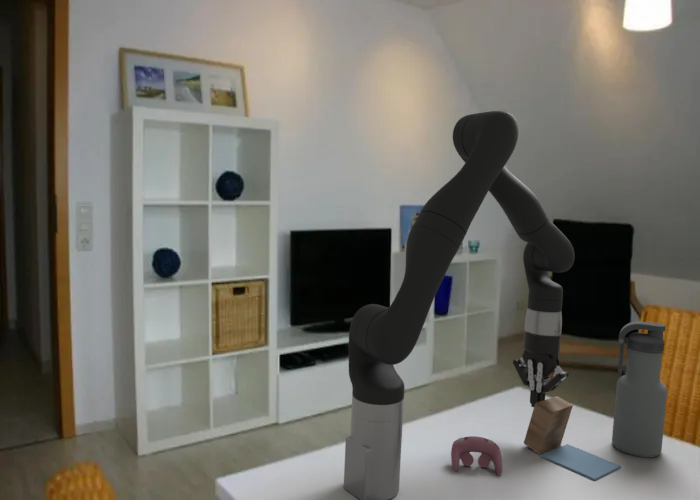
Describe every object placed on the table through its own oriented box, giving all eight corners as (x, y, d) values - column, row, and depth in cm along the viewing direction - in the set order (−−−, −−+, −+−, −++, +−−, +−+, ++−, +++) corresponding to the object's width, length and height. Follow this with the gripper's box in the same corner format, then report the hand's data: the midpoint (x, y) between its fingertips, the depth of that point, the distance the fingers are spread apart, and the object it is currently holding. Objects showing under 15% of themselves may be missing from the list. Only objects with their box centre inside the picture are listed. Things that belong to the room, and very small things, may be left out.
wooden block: (539, 454, 121) (551, 412, 118) (522, 442, 124) (534, 402, 121) (560, 445, 125) (572, 405, 123) (544, 434, 129) (555, 395, 126)
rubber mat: (594, 480, 110) (594, 478, 110) (540, 456, 119) (540, 454, 119) (620, 467, 116) (621, 465, 116) (567, 445, 125) (567, 444, 125)
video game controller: (499, 475, 113) (499, 438, 116) (504, 475, 109) (503, 437, 112) (449, 471, 114) (450, 435, 117) (451, 471, 110) (452, 433, 113)
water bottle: (608, 450, 124) (619, 324, 121) (610, 435, 132) (621, 316, 130) (661, 462, 119) (674, 331, 116) (660, 445, 127) (672, 322, 125)
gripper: (506, 325, 127) (501, 401, 128) (560, 338, 116) (554, 420, 118) (526, 322, 131) (521, 395, 133) (580, 334, 121) (573, 413, 123)
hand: (536, 407), depth 125 cm, fingers closed
